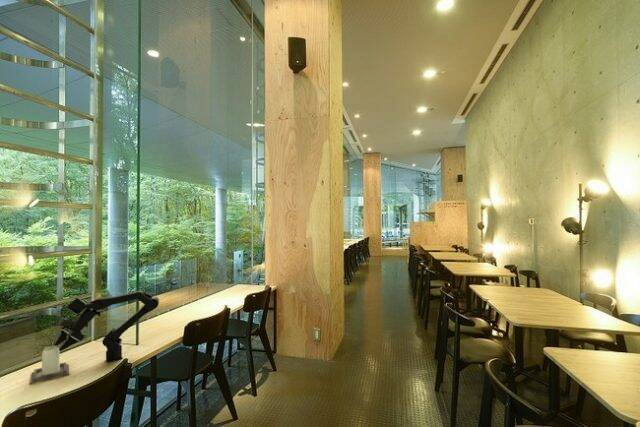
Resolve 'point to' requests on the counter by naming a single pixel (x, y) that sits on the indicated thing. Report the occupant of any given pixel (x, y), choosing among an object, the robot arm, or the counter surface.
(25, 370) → the counter surface
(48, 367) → the can
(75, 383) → the counter surface
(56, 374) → the holder
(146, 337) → the counter surface
